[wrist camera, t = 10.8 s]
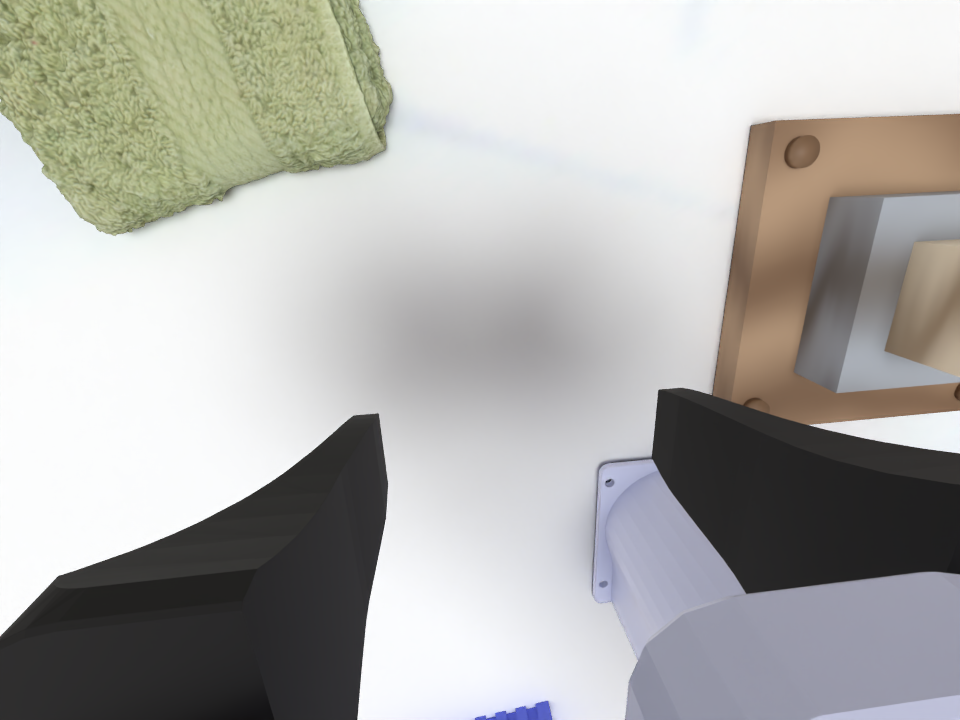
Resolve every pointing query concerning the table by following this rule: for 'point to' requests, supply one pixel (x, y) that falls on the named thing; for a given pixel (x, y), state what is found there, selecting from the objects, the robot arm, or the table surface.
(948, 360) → the beech brick
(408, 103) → the table surface
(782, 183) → the tower base
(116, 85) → the washcloth
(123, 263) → the table surface
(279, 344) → the table surface
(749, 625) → the robot arm
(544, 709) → the blue perforated cross plate
